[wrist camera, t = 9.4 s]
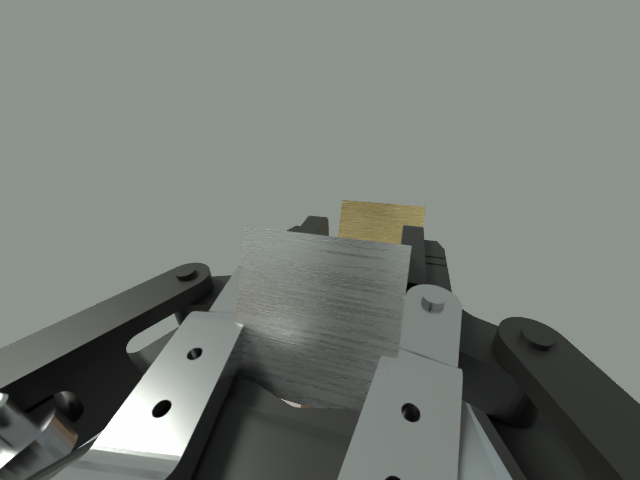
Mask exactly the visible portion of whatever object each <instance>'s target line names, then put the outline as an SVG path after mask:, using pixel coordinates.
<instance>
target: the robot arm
mask: <svg viewBox="0 0 640 480" xmlns="http://www.w3.org/2000/svg"><path fill="white" fill-rule="evenodd" d="M328 229H329V227H328V219H327V217H317V216H308V218H307V219H306V220H305V221H304V223H303V224H302V225H301V226H295V227H293V228H291V229H289V230H287V231H290V232H298V233H307V234H316V235H324V236H329V232H328V231H329V230H328ZM401 245H410V246H412V247H411V255H410V263H409V271H408V279H407V287H406V296H405V304H404V312H403V320H402V328H401V336H400V345H399V353H398V359H395V358H391V357H386V356H382V355H381V358H380V360H379V363H378V366H377V369H376V372H375V375H374V377H373V380H372V383H371V386H370V389H369V391H368V394H367V397H366V400H365V403H364V406H363V408H362V411H361V413H358V412H355V411H351V410H348V409H344V408H297V407H293V406H291V405H289V404H287V403H286V402H284V401H283V400H281V399H280V398H278V397H277V396H275V395H274V394H272V393H271V392H269V391H267V390H266V389H264V388H263V387H261V386H260V385H258V384H257V383H253V382H250V381H246V380H243V379H239V378H236V377H234V375H235V373H236V371H237V369H238V368H239V366H240V365H241V364H242V360H243V333H244V324H239V323H235V315H236V306H237V297H238V289H239V280H240V272H241V266H239V267H238V268H237V269H236V270H235V272H234V273H233V275H231V276H216V277H212V276H211V273H210V270H209V267H208V266H207V265H205V264H202V263H189V264H185V265H181V266H179V267H176V268H174V269H172V270H170V271H167V272H165V273H163V274H161V275H159V276H157V277H154V278H152V279H150V280H148V281H146V282H144V283H142V284H139V285H137V286H135V287H133V288H131V289H128V290H126V291H124V292H122V293H120V294H118V295H116V296H113V297H111V298H109V299H107V300H105V301H102V302H100V303H98V304H96V305H94V306H92V307H89V308H87V309H85V310H83V311H81V312H79V313H77V314H75V315H72V316H70V317H68V318H66V319H64V320H61V321H59V322H57V323H55V324H53V325H51V326H48V327H46V328H44V329H42V330H40V331H38V332H35V333H33V334H31V335H29V336H27V337H25V338H22V339H20V340H18V341H16V342H14V343H12V344H9V345H7V346H5V347H3V348H1V349H0V480H457V475H458V457H459V438H460V420H461V402H462V400H463V401H465V402H467V403H468V404H470V406H471V409H472V411H473V413H474V415H475V417H476V418H477V420H478V422H479V423H480V425H481V427H482V429H483V430H484V432H485V434H486V435H487V437H488V439H489V440H490V442H491V444H492V446H493V447H494V449H495V451H496V452H497V454H498V456H499V457H500V459H501V461H502V463H503V464H504V466H505V468H506V469H507V471H508V473H509V474H510V476H511V478H512V480H640V404H639V403H638V402H637V401H635V400H634V399H633V398H632V397H631V396H630V395H629V394H628V393H626V392H625V391H624V390H623V389H622V388H621V387H620V386H619V385H617V384H616V383H615V382H614V381H613V380H612V379H611V378H610V377H608V376H607V375H606V374H605V373H604V372H603V371H602V370H600V369H599V368H598V367H597V366H596V365H595V364H594V363H592V362H591V361H590V360H589V359H588V358H587V357H586V356H585V355H584V354H582V353H581V352H580V351H579V350H578V349H577V348H576V347H575V346H573V345H572V344H571V343H570V342H569V341H568V340H567V339H565V338H564V337H563V336H562V335H561V334H560V333H558V332H557V331H555V330H554V329H552V328H550V327H549V326H547V325H545V324H542V323H541V322H538V321H535V320H532V319H527V318H523V317H511V318H507V319H505V320H503V321H502V322H501V323H500V324H499V326H496V325H494V324H491V323H489V322H486V321H483V320H481V319H478V318H476V317H474V316H472V315H470V314H469V313H467V312H466V311H464V310H463V309H462V305H461V302H460V301H459V299H458V298H457V297H456V296H455V295H454V294H453V293H452V291H451V285H450V280H449V274H448V268H447V263H446V257H445V251H444V249H443V248H442V246H441V245H440V244H439V243H438V242H437V241H429V240H424V230H423V227H419V226H408V225H403V229H402V237H401ZM173 313H174V314H175V317H176V319H177V322H178V324H179V327H178V328H176V329H174V330H173V331H171V332H169V333H168V334H166V335H165V336H163V337H161V338H160V339H158V340H156V341H155V342H153V343H151V344H150V345H149V346H146V347H145V348H143V349H142V350H140V351H138V352H135V353H127V352H126V346H127V344H128V342H129V341H130V339H132V338H133V337H134V336H135V335H137V334H138V333H140V332H142V331H143V330H145V329H147V328H149V327H151V326H152V325H154V324H156V323H158V322H159V321H161V320H163V319H165V318H167V317H168V316H170V315H172V314H173ZM102 430H104V431H103V432H102V433H101V435H100V436H99V437H98V438H96V439H94V440H92V441H91V442H89V443H87V444H85V445H84V446H82V445H83V444H84V443H86V442H87V441H89V440H90V439H91V438H92V437H94V436H95V435H97V434H98V433H100V432H101V431H102ZM80 446H82V447H80ZM79 447H80V448H79ZM77 448H78V449H77ZM76 449H77V450H76Z"/></svg>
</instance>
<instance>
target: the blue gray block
mask: <svg viewBox="0 0 640 480" xmlns="http://www.w3.org/2000/svg"><path fill="white" fill-rule="evenodd" d="M457 480H512V478H511V476H510V474H509V473H508V471H507V469H506V468H505V466H504V464H503V463H502V461H501V459H500V457H499V456H498V454H497V452H496V451H495V449H494V447H493V446H492V444H491V442H490V440H489V439H488V437H487V435H486V434H485V432H484V430H483V429H482V427H481V425H480V423H479V422H478V420H477V418H476V417H475V415H474V413H473V411H472V409H471V406H470V404H468V403H467V402H465V401H463V400H462V402H461V420H460V438H459V457H458V475H457Z"/></svg>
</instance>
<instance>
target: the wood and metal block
mask: <svg viewBox="0 0 640 480" xmlns="http://www.w3.org/2000/svg"><path fill="white" fill-rule="evenodd" d="M424 212H425V207H421V206H407V205H396V204H383V203H371V202H358V201H345V200H343V201H342V208H341V218H340V225H339V234H338V237H333V236H324V235H316V234H307V233H298V232H290V231H281V230H272V229H264V228H256V227H247V226H246V229H245V238H244V246H243V255H242V263H241V272H240V280H239V289H238V297H237V306H236V315H235V323H239V324H244V333H243V360H242V364H241V365H240V366H239V368H238V369H237V371H236V373H235V375H234V377H236V378H239V379H243V380H246V381H250V382H253V383H257V384H258V385H260V386H261V387H263V388H264V389H266V390H267V391H269V392H271V393H272V394H274V395H275V396H277V397H278V398H280V399H284V400H288V401H291V402H294V403H298V404H301V405H304V406H308V407H311V408H344V409H348V410H351V411H355V412H358V413H361V411H362V408H363V406H364V403H365V400H366V397H367V394H368V391H369V389H370V386H371V383H372V380H373V377H374V375H375V372H376V369H377V366H378V363H379V360H380V358H381V355H382V356H386V357H391V358H395V359H398V353H399V345H400V336H401V328H402V320H403V312H404V304H405V296H406V287H407V279H408V271H409V263H410V255H411V247H412V246H410V245H401V237H402V229H403V225H408V226H419V227H423V220H424Z"/></svg>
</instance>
